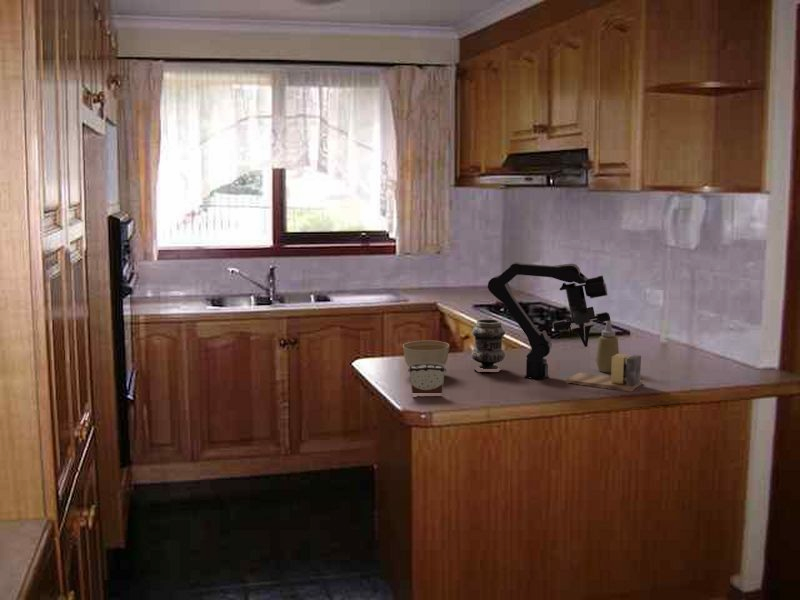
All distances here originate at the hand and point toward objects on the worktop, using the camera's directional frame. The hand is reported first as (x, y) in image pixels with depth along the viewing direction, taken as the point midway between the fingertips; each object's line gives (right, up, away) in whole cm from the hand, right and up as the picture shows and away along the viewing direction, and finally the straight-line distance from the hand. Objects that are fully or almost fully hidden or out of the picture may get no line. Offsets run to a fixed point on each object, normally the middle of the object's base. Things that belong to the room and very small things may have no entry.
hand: (586, 346), depth 290 cm
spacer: (+10, -11, -5) cm, 16 cm away
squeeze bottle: (+11, -10, +16) cm, 22 cm away
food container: (-54, -15, -14) cm, 57 cm away
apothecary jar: (-31, -10, +19) cm, 38 cm away
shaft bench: (+6, -12, -2) cm, 13 cm away
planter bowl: (-53, -11, +12) cm, 56 cm away
